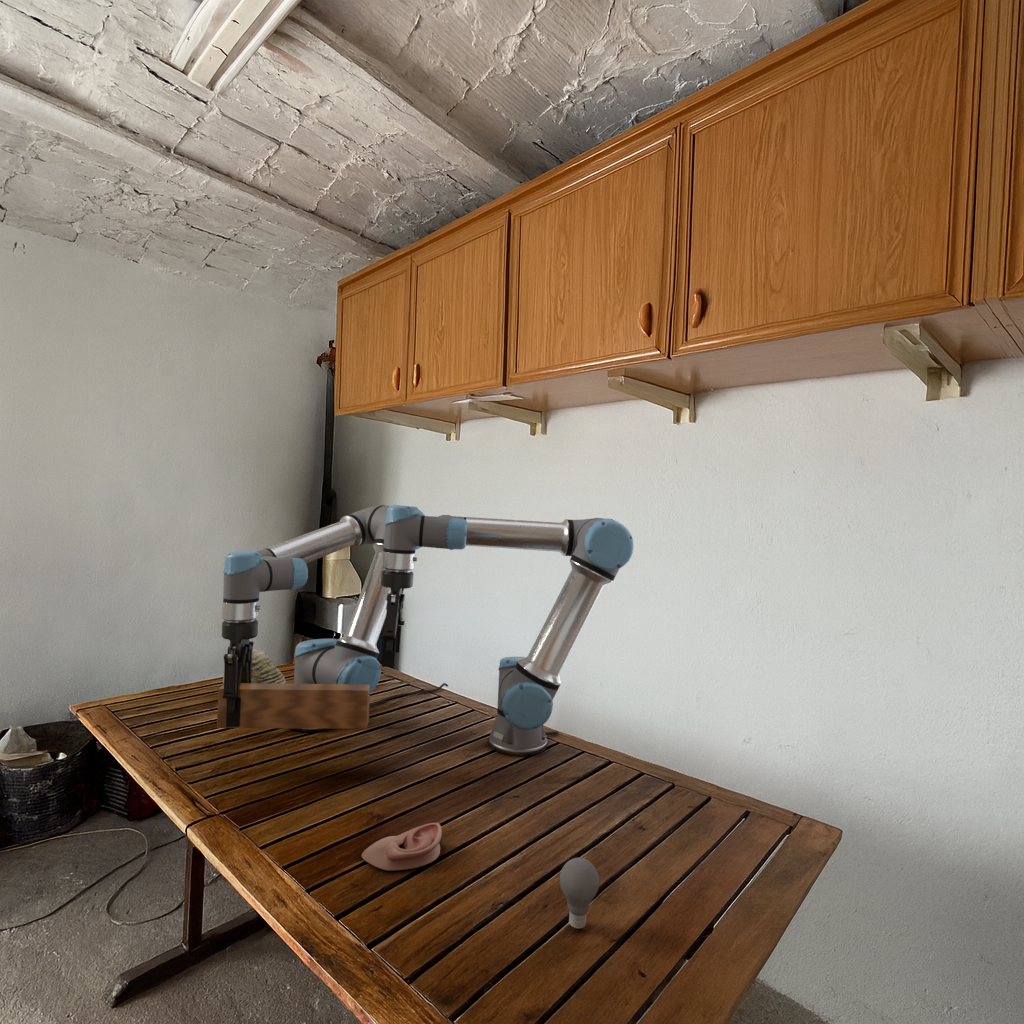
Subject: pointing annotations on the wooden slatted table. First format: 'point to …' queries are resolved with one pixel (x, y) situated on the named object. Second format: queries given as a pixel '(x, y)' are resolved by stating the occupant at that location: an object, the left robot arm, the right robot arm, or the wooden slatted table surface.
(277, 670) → the fossil
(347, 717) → the bar
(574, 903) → the light bulb
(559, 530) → the right robot arm
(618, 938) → the wooden slatted table surface
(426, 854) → the anatomical model
